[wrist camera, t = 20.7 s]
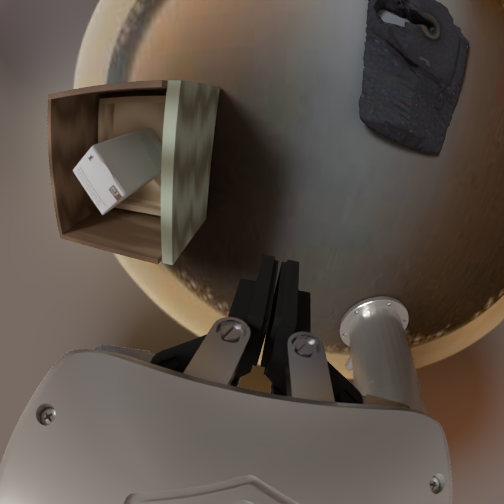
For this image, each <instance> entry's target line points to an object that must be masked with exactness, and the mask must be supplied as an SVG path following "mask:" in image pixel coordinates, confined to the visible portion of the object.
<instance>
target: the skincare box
mask: <svg viewBox="0 0 504 504" xmlns="http://www.w3.org/2000/svg"><path fill="white" fill-rule="evenodd" d="M161 162H162V144H161V142H160V141H159V139H158V138H157V136H156V135H155V134H154V132H153V131H152V129H151V128H148V129H144V130H140V131H137V132H133V133H130V134H126V135H123V136H119V137H116V138H113V139H110V140H107V141H104V142H101V143H98V144H95V145H93V146H92V147H91V148H90V149H89V150H88V152H87V153H86V154H85V155H84V156H83V158H82V159H81V160H80V161H79V163H78V164H77V165H76V167H75V168H74V169H73V172H74V174H75V175H76V177H77V178H78V180H79V181H80V183H81V184H82V186H83V187H84V189H85V190H86V192H87V193H88V195H89V196H90V198H91V199H92V201H93V202H94V204H95V205H96V207H97V208H98V209H99V211H100V212H101V214H102V215H104V214H106V213H107V212H109V211H110V210H111V209H113V208H114V207H115V206H116V205H118V204H119V203H120V202H122V201H123V200H124V199H126V198H127V197H129V196H130V195H131V194H133V193H134V192H136V191H137V190H139V189H140V188H141V187H143V186H144V185H146V184H147V183H149V182H150V181H152V180H153V179H154V178H156V177H157V176H158V175H159V174H161Z"/></svg>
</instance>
